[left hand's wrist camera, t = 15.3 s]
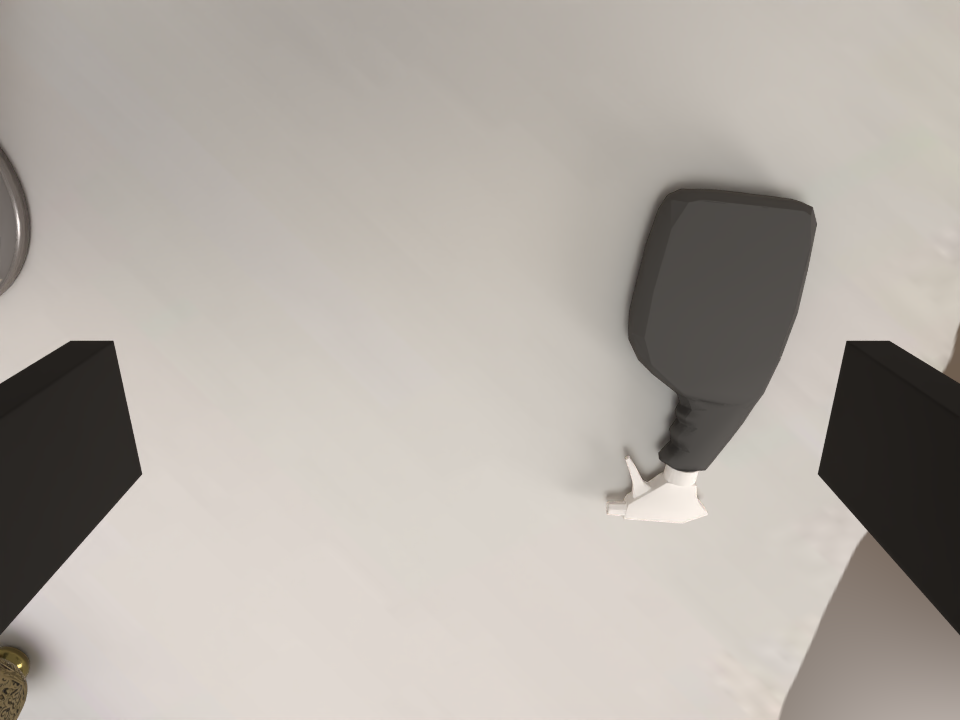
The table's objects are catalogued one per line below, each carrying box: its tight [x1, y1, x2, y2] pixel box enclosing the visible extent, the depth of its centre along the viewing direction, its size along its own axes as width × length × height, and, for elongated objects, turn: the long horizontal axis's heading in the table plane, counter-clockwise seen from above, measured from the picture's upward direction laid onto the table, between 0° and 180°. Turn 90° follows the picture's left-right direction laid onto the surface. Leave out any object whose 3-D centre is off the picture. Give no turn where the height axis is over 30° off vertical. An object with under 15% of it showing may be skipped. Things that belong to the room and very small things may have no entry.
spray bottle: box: [606, 189, 817, 523], centre depth 47 cm, size 3×11×24 cm
